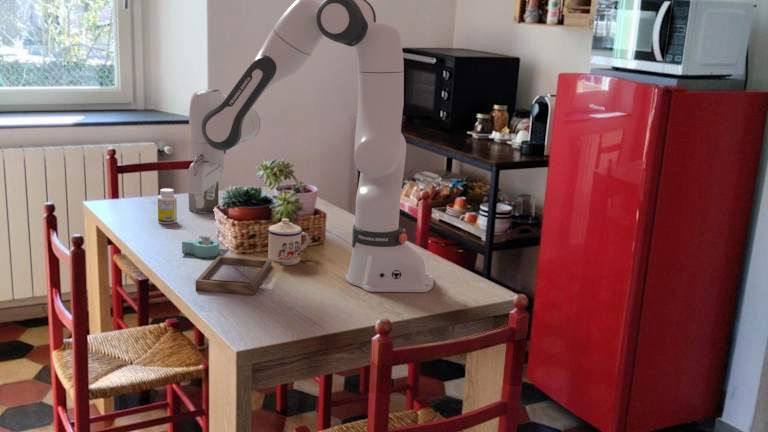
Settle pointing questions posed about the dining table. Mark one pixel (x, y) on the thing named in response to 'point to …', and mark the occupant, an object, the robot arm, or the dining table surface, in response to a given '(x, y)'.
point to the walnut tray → (232, 286)
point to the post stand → (206, 242)
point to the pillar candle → (208, 204)
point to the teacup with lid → (286, 242)
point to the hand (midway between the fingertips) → (205, 203)
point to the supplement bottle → (167, 207)
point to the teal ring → (200, 248)
